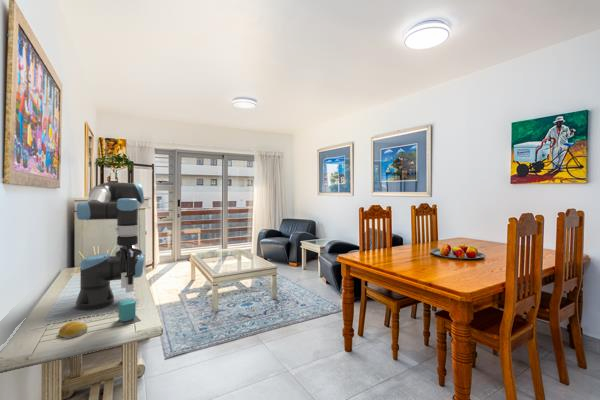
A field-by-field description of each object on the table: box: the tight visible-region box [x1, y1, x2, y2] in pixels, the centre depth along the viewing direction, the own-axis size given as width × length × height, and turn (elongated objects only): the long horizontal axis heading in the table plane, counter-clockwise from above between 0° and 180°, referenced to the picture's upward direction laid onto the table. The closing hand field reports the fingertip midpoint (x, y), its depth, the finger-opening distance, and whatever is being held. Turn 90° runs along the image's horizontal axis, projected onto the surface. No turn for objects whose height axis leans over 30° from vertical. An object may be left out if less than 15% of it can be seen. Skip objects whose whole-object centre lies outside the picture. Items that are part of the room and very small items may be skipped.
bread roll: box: [58, 320, 88, 339], centre depth 114 cm, size 8×9×4 cm
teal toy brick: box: [117, 298, 137, 323], centre depth 126 cm, size 5×5×7 cm
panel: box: [118, 315, 141, 326], centre depth 126 cm, size 7×6×1 cm
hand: (127, 289), depth 126 cm, fingers open, 6 cm apart
